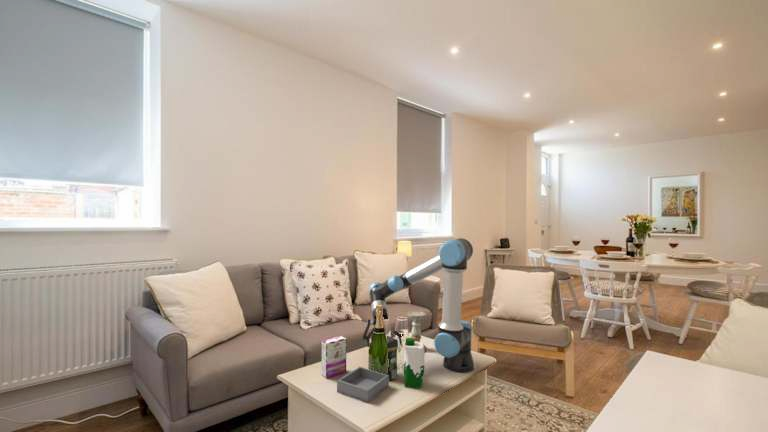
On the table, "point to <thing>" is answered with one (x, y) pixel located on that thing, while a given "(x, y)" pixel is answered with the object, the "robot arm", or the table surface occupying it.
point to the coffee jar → (392, 357)
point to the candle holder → (416, 325)
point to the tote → (363, 384)
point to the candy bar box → (334, 356)
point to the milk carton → (413, 363)
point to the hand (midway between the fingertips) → (385, 352)
